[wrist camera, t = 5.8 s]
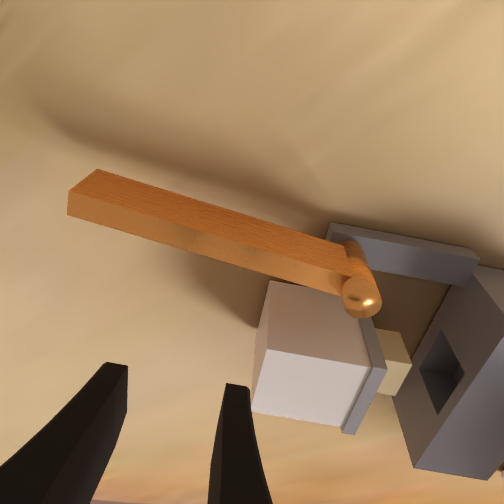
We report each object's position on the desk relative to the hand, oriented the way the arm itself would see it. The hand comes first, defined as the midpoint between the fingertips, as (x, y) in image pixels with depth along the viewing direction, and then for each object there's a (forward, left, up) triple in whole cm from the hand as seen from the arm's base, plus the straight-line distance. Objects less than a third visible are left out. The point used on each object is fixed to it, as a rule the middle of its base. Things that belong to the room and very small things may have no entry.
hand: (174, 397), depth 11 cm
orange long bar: (-1, -2, -8) cm, 8 cm away
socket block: (-11, +3, -9) cm, 15 cm away
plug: (-6, +3, -9) cm, 12 cm away
